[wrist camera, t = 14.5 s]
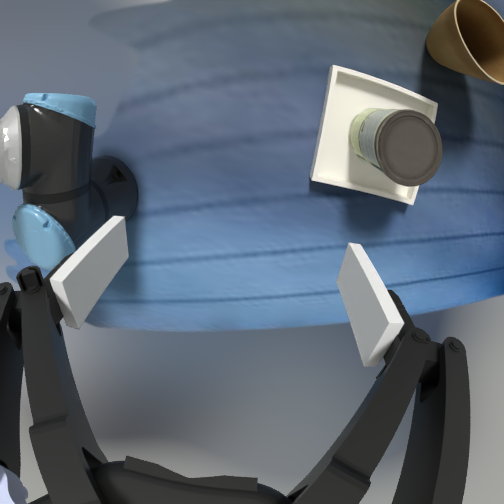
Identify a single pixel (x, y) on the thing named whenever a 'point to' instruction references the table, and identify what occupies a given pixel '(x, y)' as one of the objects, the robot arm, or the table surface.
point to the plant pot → (469, 40)
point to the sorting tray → (337, 127)
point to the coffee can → (397, 144)
